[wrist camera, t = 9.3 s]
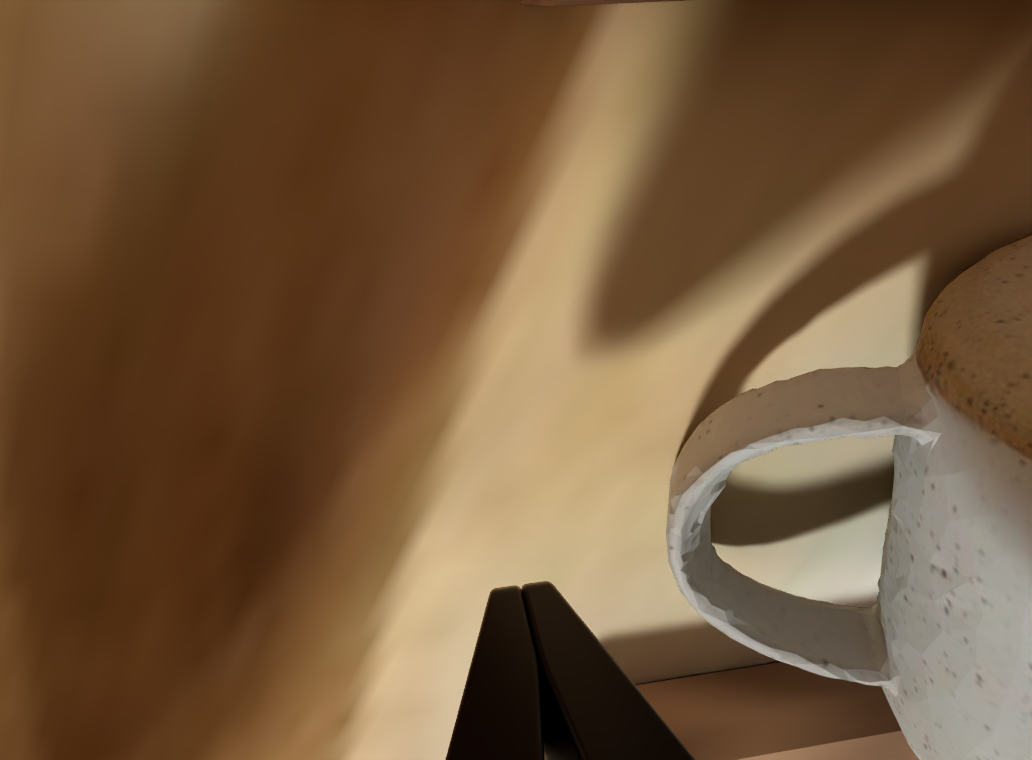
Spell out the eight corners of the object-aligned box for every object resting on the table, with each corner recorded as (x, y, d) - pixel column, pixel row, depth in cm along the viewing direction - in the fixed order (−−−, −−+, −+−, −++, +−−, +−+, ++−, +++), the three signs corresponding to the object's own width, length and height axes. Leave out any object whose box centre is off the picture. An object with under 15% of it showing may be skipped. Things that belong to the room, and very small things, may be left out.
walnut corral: (541, 736, 16) (557, 826, 14) (516, -157, 7) (553, -209, 5) (1071, 649, 17) (1144, 720, 15) (1608, -176, 8) (1912, -221, 7)
